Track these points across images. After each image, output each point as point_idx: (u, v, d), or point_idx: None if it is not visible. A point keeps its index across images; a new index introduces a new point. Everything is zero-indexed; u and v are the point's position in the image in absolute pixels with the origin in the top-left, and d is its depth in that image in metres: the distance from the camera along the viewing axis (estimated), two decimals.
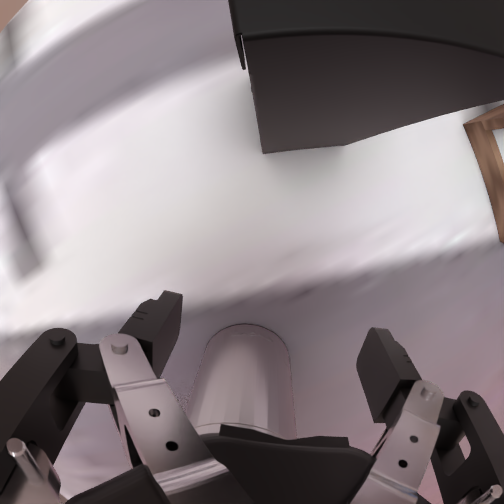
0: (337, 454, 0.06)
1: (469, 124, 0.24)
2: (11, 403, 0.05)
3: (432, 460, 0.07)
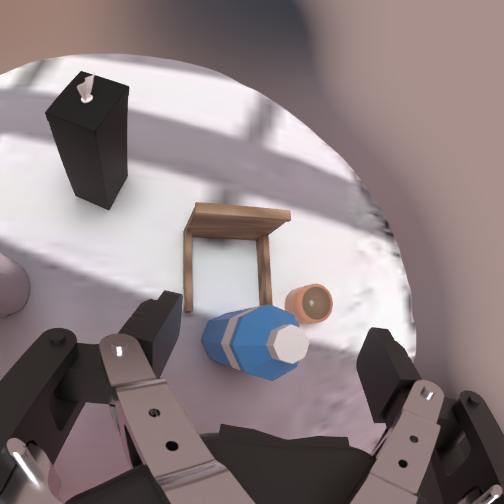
0: (337, 454, 0.06)
1: (184, 229, 0.54)
2: (11, 403, 0.05)
3: (432, 460, 0.07)
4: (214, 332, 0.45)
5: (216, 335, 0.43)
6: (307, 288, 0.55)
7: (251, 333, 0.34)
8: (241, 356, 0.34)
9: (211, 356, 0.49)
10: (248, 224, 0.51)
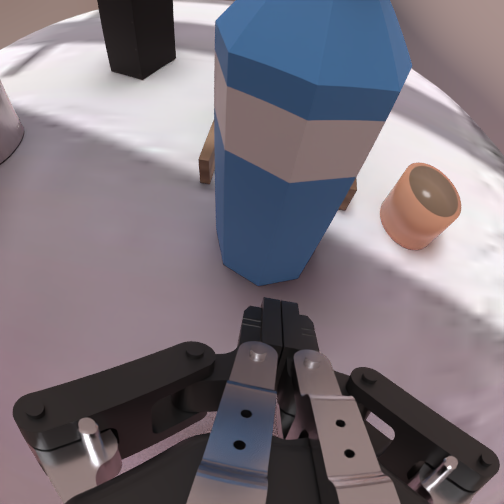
0: None
1: None
2: (110, 390, 0.06)
3: None
4: None
5: None
6: (416, 165, 0.27)
7: None
8: (227, 24, 0.10)
9: (221, 243, 0.25)
10: None
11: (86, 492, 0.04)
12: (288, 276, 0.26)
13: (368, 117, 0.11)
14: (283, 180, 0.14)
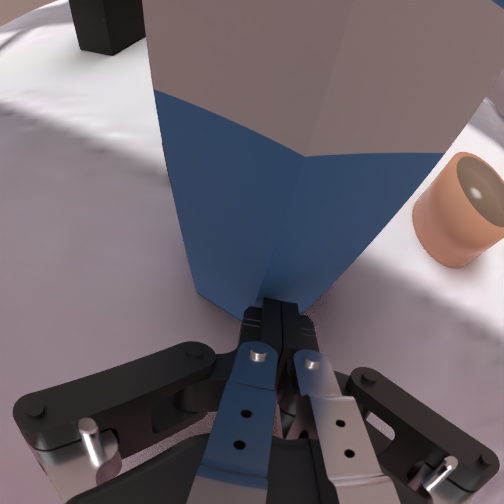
0: None
1: None
2: (110, 390, 0.06)
3: None
4: None
5: None
6: (462, 155, 0.18)
7: None
8: None
9: None
10: None
11: (86, 492, 0.04)
12: None
13: None
14: (290, 150, 0.05)
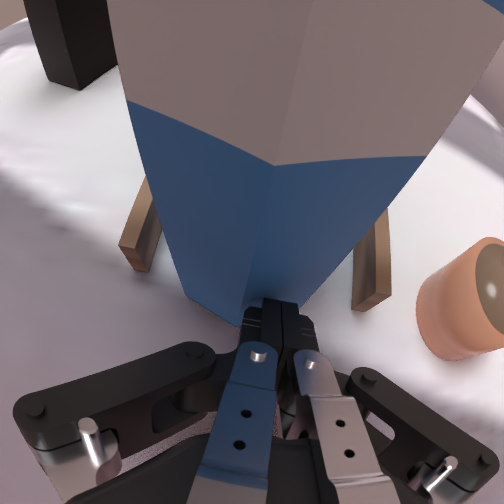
0: None
1: None
2: (110, 390, 0.06)
3: None
4: None
5: None
6: (483, 244, 0.15)
7: None
8: None
9: None
10: None
11: (86, 492, 0.04)
12: None
13: None
14: (259, 159, 0.05)
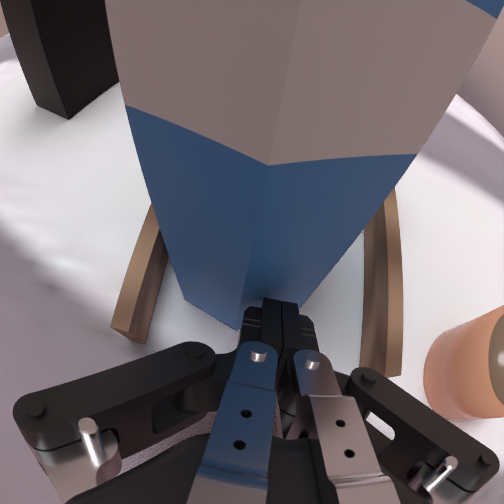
0: None
1: None
2: (110, 390, 0.06)
3: None
4: None
5: None
6: (499, 314, 0.13)
7: None
8: None
9: None
10: None
11: (86, 492, 0.04)
12: None
13: None
14: (254, 159, 0.05)
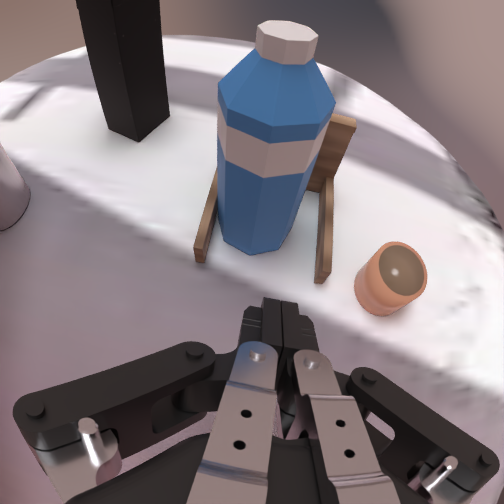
0: None
1: None
2: (110, 390, 0.06)
3: None
4: None
5: None
6: (388, 245, 0.32)
7: None
8: (225, 88, 0.21)
9: (222, 224, 0.35)
10: None
11: (86, 492, 0.04)
12: (270, 247, 0.36)
13: (304, 139, 0.21)
14: (260, 176, 0.24)
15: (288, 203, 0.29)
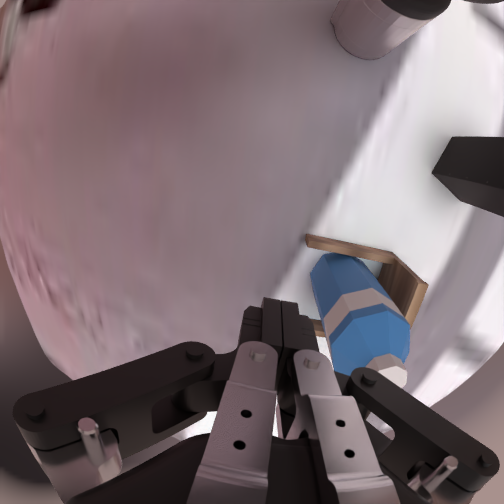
0: None
1: (394, 254, 0.45)
2: (110, 390, 0.06)
3: None
4: (367, 274, 0.39)
5: (368, 278, 0.37)
6: None
7: (398, 335, 0.27)
8: (373, 319, 0.28)
9: (330, 259, 0.44)
10: None
11: (86, 492, 0.04)
12: (313, 290, 0.48)
13: (331, 356, 0.32)
14: (324, 316, 0.35)
15: (321, 320, 0.40)
